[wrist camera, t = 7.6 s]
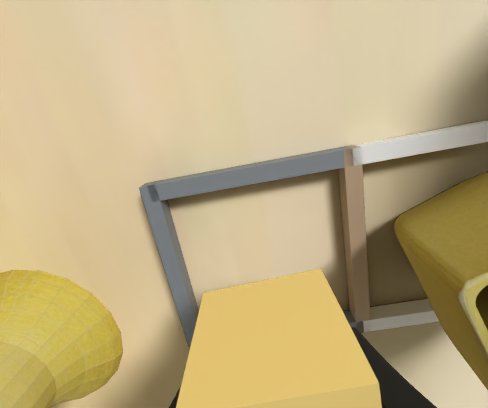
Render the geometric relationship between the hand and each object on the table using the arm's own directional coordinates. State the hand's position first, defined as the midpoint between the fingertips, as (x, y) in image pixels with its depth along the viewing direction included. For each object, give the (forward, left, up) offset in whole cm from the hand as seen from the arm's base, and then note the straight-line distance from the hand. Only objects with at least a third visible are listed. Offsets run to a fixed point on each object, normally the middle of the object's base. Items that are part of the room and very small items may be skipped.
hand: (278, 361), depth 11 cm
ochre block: (0, 0, -2) cm, 2 cm away
